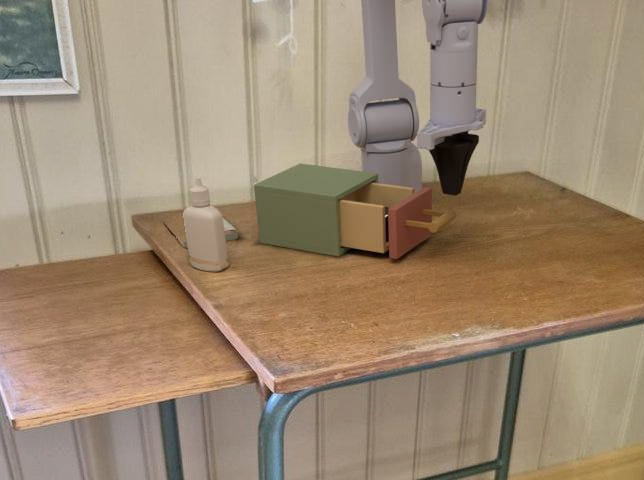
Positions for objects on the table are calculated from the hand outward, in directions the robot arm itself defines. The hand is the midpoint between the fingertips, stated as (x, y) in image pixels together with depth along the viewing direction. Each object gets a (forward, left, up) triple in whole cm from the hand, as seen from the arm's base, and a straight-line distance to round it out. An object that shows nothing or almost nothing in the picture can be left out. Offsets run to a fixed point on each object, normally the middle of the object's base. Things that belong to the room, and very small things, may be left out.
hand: (451, 193), depth 120 cm
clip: (+3, -10, -7) cm, 12 cm away
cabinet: (+5, -20, -9) cm, 23 cm away
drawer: (+2, -9, -8) cm, 12 cm away
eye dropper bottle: (+23, -23, -9) cm, 34 cm away
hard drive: (+15, -36, -9) cm, 41 cm away
